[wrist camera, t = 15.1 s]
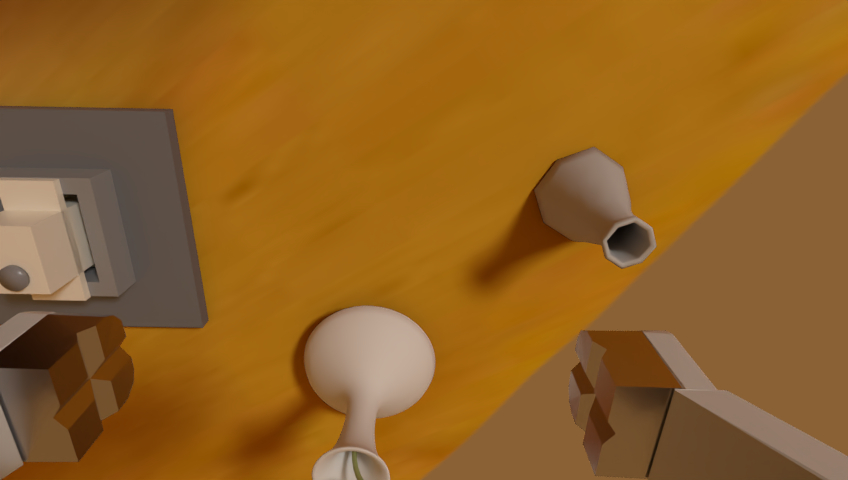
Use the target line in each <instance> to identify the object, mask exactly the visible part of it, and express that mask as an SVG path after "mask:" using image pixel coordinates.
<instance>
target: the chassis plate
mask: <svg viewBox="0 0 848 480" xmlns="http://www.w3.org/2000/svg"><path fill="white" fill-rule="evenodd" d="M0 178H47V179H59V181H60V185H61V189H62V192H63V196H64V198H78V201H79V205H80V209H81V213H82V217H83V220H84V224H85V228H86V232H87V236H88V240H89V244H90V247H91V251H92V255H93V259H94V263H95V264H93V265H92V266H91V267H89V268H88V269H86V270H85V271H84V274H85V278H86V281H87V285H88V289H89V292H90V296H91V297H90V298H89V299H87V300H86V301H71V300H33V298H32V295H31V294H0V324H4V323H5V322H7V321H8V320H9V319H11V318H12V317H14V316H15V315H16V314H18V313H22V312H29V311H36V312H55V313H57V312H63V313H82V314H102V315H114V316H116V317H117V318H119V319H120V320H121V321H122V324H123V326H132V327H196V328H203V327H204V325H205V324H206V323H207V321H208V315H207V309H206V303H205V297H204V291H203V285H202V279H201V274H200V268H199V262H198V256H197V250H196V244H195V239H194V233H193V227H192V221H191V215H190V209H189V203H188V198H187V192H186V186H185V180H184V174H183V168H182V162H181V157H180V151H179V145H178V139H177V133H176V127H175V121H174V116H173V110H172V109H135V108H81V107H27V106H0ZM1 211H4V208H3V205H2V202H1V199H0V212H1Z"/></svg>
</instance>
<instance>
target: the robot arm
mask: <svg viewBox="0 0 848 480" xmlns="http://www.w3.org/2000/svg"><path fill="white" fill-rule="evenodd" d="M125 337H126V334H125V331H124V328H123V324H122V321H121V320H120V319H119V318H117V317H116V316H114V315H102V314H82V313H63V312H57V313H55V312H36V311H29V312H22V313H18V314H16V315H15V316H14V317H12V318H11V319H9V320H8V321H7V322H5V323H4V324H2V325H1V326H0V480H1V479H3V478H4V477H6V476H7V475H9V474H10V473H12V472H13V471H15V470H16V469H18V468H19V467H21V466H22V465H23V462H79V460H80V459H81V458H82V457H83V455H84V454H85V453H86V452H87V450H88V449H89V448H90V447H91V445H92V444H93V443H94V442H95V440H96V439H97V438H98V436H99V435H100V434H101V433H102V431H103V425H102V420H103V419H105V418H107V417H109V416H110V415H112V414H114V413H116V412H117V411H119V410H120V408H121V407H122V406H123V404H124V403H125V402H126V400H127V399H128V397H129V394H130V391H131V388H132V385H133V381H134V368H133V363H132V359H131V357H130V356H129V355H128V354H127V353H126V352H125V351H124V350H123V349H122V348H121V347H120V345H121V344H122V342H123V341H124V339H125ZM575 351H576V353H577V355H578V358H579V360H580V362H579V363H578V365H576V366H575V367H574V368H573V369H572V370H571V374H570V381H569V403H570V408H571V413H572V416H573V419H574V421H575V424H576V425H578V426H579V427H580V428H581V429H583V430H584V431H585V436H584V440H583V445H584V448H585V451H586V453H587V456H588V459H589V461H590V464H591V466H592V469H593V472H594V474H595V476H607V477H625V478H644V479H648V480H848V456H846V455H844V454H843V453H840V452H839V451H837V450H835V449H833V448H831V447H830V446H828V445H826V444H824V443H822V442H821V441H819V440H817V439H815V438H813V437H811V436H809V435H808V434H806V433H804V432H802V431H800V430H798V429H797V428H795V427H793V426H791V425H789V424H787V423H785V422H784V421H782V420H780V419H778V418H776V417H775V416H773V415H771V414H769V413H767V412H765V411H764V410H762V409H760V408H758V407H756V406H754V405H753V404H751V403H749V402H747V401H745V400H743V399H742V398H740V397H738V396H736V395H734V394H732V393H731V392H729V391H726V390H724V391H723V390H717V389H716V388H715V387H714V385H713V384H712V383H711V382H710V380H709V379H708V378H707V377H706V375H705V374H704V373H703V372H702V370H701V369H700V368H699V367H698V365H697V364H696V363H695V362H694V360H693V359H692V358H691V357H690V355H689V354H688V353H687V352H686V350H685V349H684V348H683V347H682V345H681V344H680V343H679V342H678V340H677V339H676V338H675V337H674V335H673V334H671V333H670V332H668V331H666V330H665V331H587V330H581V332H580V334H579V336H578V338H577V343H576V348H575Z"/></svg>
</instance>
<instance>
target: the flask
mask: <svg viewBox="0 0 848 480" xmlns="http://www.w3.org/2000/svg"><path fill="white" fill-rule="evenodd" d="M534 192H535V195H536V199H537V202H538V205H539V209H540V212H541V216H542V219H543V222H544V223H545V224H547V225H548V226H550V227H551V228H553V229H554V230H556V231H557V232H559V233H561V234H562V235H564V236H565V237H567V238H568V239H570V240H571V241H578V242H588V243H593V244H599V245H601V246H602V248H603V252H604V256H605V258H606V259H607V260H609V261H611V262H612V263H614V264H615V265H617V266H618V267H620V268H621V269H623V268H626V267H629V266H632V265H636V264H639V263H642V262H643V261H644V260H645V259H646V258H647V257H648V255H649V254H650V253H651V252H652V251H653V250H654V249H655V248H656V242H655V237H654V232H653V228H652V227H651V226H649V225H648V224H647V223H645V222H644V221H642V220H641V219H639V218H638V217H636V216H634V215H633V214H632V212H631V202H630V197H629V192H628V188H627V183H626V179H625V174H624V170H623V167H622V166H621V165H619V164H618V163H616V162H615V161H614V160H612V159H611V158H609V157H608V156H606V155H605V154H604V153H602V152H601V151H599V150H598V149H596V148H595V147H592V148H590V149H587V150H584V151H581V152H578V153H575V154H572V155H569V156H567V157H564V158H561V159H558V160H557V161H556V162H555V163H554V165H553V166H552V167H551V169H550V170H549V171H548V172H547V174H546V175H545V176H544V178H543V179H542V180H541V182H540V183H539V184H538V186H537V187H536V188H535V190H534Z"/></svg>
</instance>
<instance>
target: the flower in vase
mask: <svg viewBox="0 0 848 480" xmlns="http://www.w3.org/2000/svg"><path fill="white" fill-rule="evenodd" d="M304 366H305V370H306V374H307V378H308V380H309V383H310V385H311V387H312V388H313V390H314V391H315V393H316V394H317V395H318V396H319V397H320V398H321V399H322V400H323V401H324V402H325V403H326V404H328V405H329V406H331V407H332V408H334V409H336V410H338V411H340V412H342V413H344V414H346V418H345V422H344V426H343V429H342V432H341V434H340V437H339V439H338V441H337V443H336V445H335V446H334V447H333V449H331V450H330V451H328V452H326V453H324V454H323V455H322V456H321V457H320V458H319V459H318V460H317V462H316V463H315V465H314V467H313V470H312V479H313V480H390V475H389V471H388V468H387V466H386V464H385V463H384V461H383V460H382V459H381V458H380V457H379V456H378V454H377V451H376V447H375V435H374V430H375V419H376V418H383V417H388V416H392V415H395V414H398V413H400V412H402V411H404V410H406V409H408V408H410V407H411V406H412V405H414V404H415V403H416V402H417V401H418V400H419V399H420V398H421V397H422V396H423V394H424V393H425V391H426V390H427V388H428V387H429V385H430V383H431V381H432V378H433V375H434V371H435V354H434V350H433V347H432V344H431V342H430V340H429V338H428V337H427V335H426V334H425V332H424V331H423V330H422V329H421V328H420V327H419V326H418V325H417V324H416V323H415V322H414V321H412V320H411V319H409V318H408V317H407V316H405V315H403V314H401V313H399V312H396V311H394V310H391V309H387V308H383V307H377V306H357V307H351V308H346V309H344V310H341V311H338V312H336V313H334V314H332V315H330V316H328V317H327V318H325V319H324V320H323V321H322V322H321V323H319V324H318V325H317V326H316V328H315V329H314V330H313V331H312V333H311V335H310V336H309V338H308V341H307V343H306V346H305V351H304Z"/></svg>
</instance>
